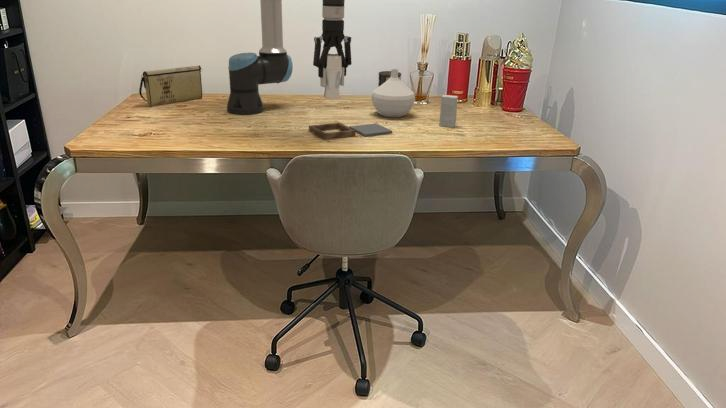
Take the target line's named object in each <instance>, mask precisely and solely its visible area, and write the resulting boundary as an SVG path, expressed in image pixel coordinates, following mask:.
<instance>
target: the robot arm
mask: <svg viewBox="0 0 726 408" xmlns="http://www.w3.org/2000/svg"><path fill="white" fill-rule="evenodd" d="M282 7H283V3H282V0H260V22H261V23H260V25H261V45H262V46H261V48H260V49H259V50H258V55H257V53H256V52H242V53H236V54H233V55H231V56H230V57H229V59H228V76H229V77H228V79H229V89H230V90H229V91H230V92H229V97H228V101H227V103H226V104H227V105H226V111H227V112H228V113H231V114H234V115H255V114H259V113H260V114H261V113H262V112H264V103H263V101H262V98H261V95H260V92H259V85H267V84H268V85H270V84H281V83H285V82H287V81H289V80H290V78H291V76H292V73H293V61H292V57H291V56H290V55H289V54H288V52H287V49H286V48H285V47H284V37H283V32H284V31H283V8H282ZM321 10H322V12H321V13H322V15H321V16H322V18H323V19H322V20H321V21H322V25H321V27H322V33H321V35H320V36H314V38H313V41H314V53H313V62H312V63H313V64H312V65H313V66H314V67H316V68H317V71H318V73H317V75H318V77H319V79H320V80H319V81H320V82H319V83H320V87H322V88H325V87H326V69H325V68H324V65H325V62H326V57H327V56H328V53H329V52H330V50H331V48H334V47H335V49H336V54H338V56H341V55H342V75H341V80H340V86H341V87H344V86H345V77H346V76H347V68H348V67H349V66H351V65H352V51H351V42H352V37H351V36H348V35H345V34H344V33H345V32H344V31H345V27H344V26H345V21H344V18H345V0H322V9H321ZM342 42H344V43H343V45H342ZM322 43H323V46H322ZM343 48H344V50H343ZM321 51H322V52H321Z"/></svg>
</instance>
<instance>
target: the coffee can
mask: <svg viewBox="0 0 726 408" xmlns="http://www.w3.org/2000/svg"><path fill="white" fill-rule="evenodd" d="M390 77H391V70H383V71H379V72H378V87H379V86H381V85H382V84H383V83H385V82H386V81H387V80H388V79H389V78H390ZM398 78H399V79H400V80H401V78H402V73H401V72H399V71H398ZM401 81H402V80H401ZM378 87H377V88H378Z"/></svg>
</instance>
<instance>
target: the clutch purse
mask: <svg viewBox="0 0 726 408" xmlns="http://www.w3.org/2000/svg"><path fill="white" fill-rule="evenodd" d="M201 72H202V67H201V65H190V66H182V67H181V66H180V67H174V68H173V67H172V68H163V69H155V70H146V71H143V72H142V75H140V77H141V79H140V84H139V89H138V90H139V91H138V93H139V96H140V97H141V99H143V100H144V101H145V102H146V103H147V105H148V107H154V106H160V105H167V104H168V105H169V104H173V103H180V102H186V101H191V100H198V99H199V100H200V99H203V87H202V86H203V84H202V73H201ZM143 87H144V89H145V93H146V94H145V95H146V99H145V97H144V96H143V94H142V88H143Z"/></svg>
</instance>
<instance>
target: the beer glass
mask: <svg viewBox="0 0 726 408" xmlns="http://www.w3.org/2000/svg"><path fill="white" fill-rule="evenodd" d="M324 68H325V69H326V87H324V92H323V97H324V98H325V99H330V100H332V99H333V100H334V99H335V100H336V99H340V98H341V90H340V89H341V88H340V86H341V85H340V80H341V75H342V55H341V56H338V53H333V52H332V53H331V52H330V53H329V52H328V56H327V57H326V62H325V65H324Z"/></svg>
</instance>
